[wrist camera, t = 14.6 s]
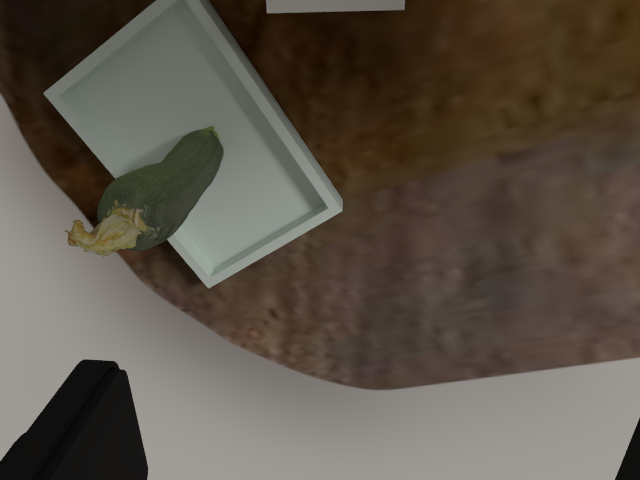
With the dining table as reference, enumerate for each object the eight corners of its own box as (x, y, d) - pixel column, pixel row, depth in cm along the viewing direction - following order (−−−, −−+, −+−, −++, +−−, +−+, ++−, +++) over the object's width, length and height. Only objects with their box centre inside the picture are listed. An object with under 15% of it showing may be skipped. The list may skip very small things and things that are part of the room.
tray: (60, 87, 40) (43, 93, 38) (194, -22, 36) (183, -23, 34) (215, 274, 47) (208, 288, 45) (343, 199, 43) (342, 211, 41)
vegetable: (237, 168, 41) (147, 302, 23) (187, 176, 42) (61, 311, 24) (224, 115, 39) (115, 214, 22) (172, 123, 40) (23, 227, 22)
